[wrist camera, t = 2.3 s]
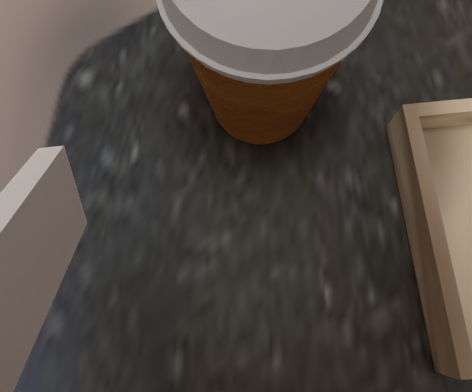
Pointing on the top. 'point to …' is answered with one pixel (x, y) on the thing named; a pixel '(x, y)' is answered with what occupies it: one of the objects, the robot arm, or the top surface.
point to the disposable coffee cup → (266, 56)
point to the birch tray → (439, 221)
